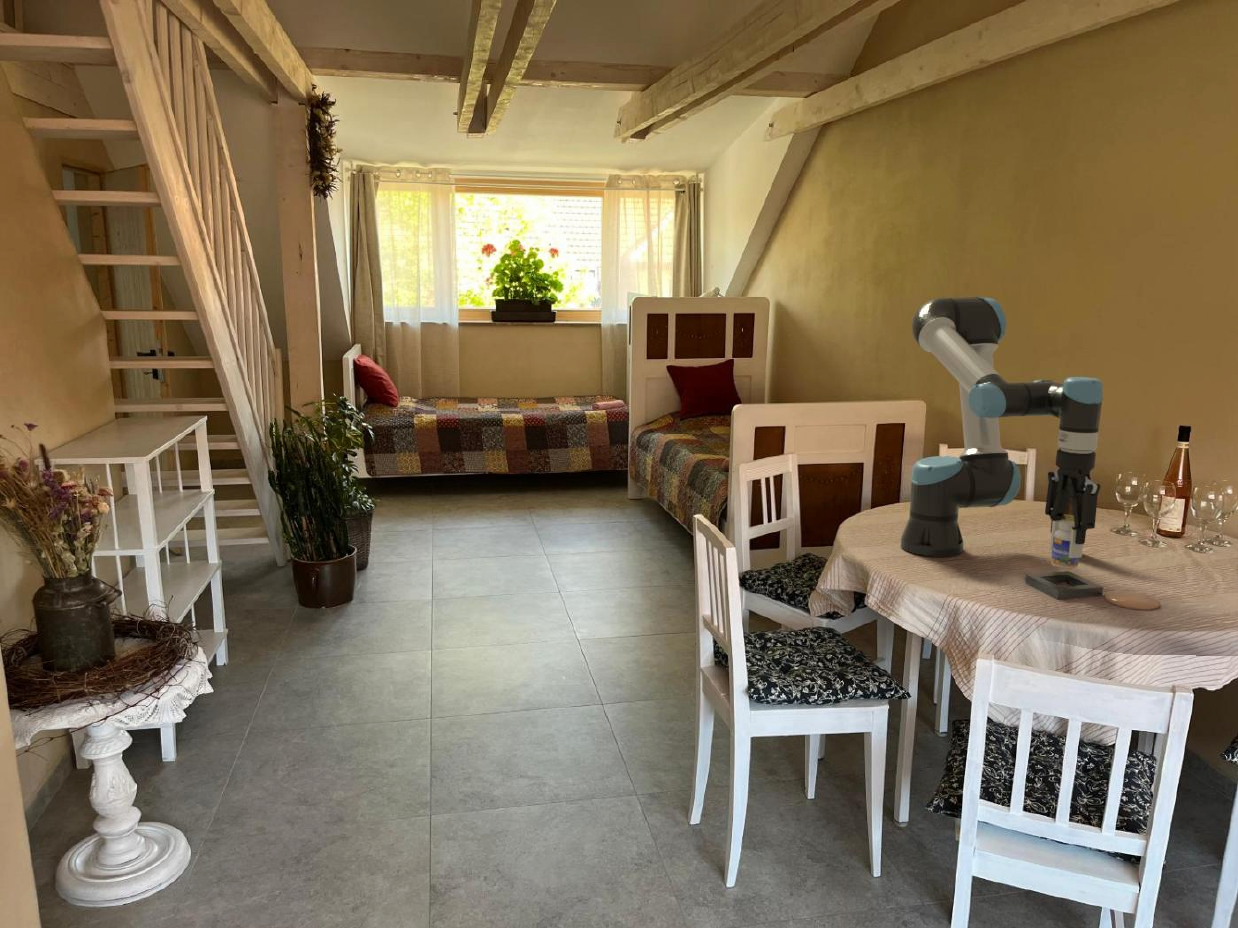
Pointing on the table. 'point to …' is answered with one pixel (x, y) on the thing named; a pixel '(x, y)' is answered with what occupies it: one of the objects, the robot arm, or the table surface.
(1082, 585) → the socket plate
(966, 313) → the robot arm
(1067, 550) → the pill bottle
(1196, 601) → the table surface
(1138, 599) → the coaster
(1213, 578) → the table surface
